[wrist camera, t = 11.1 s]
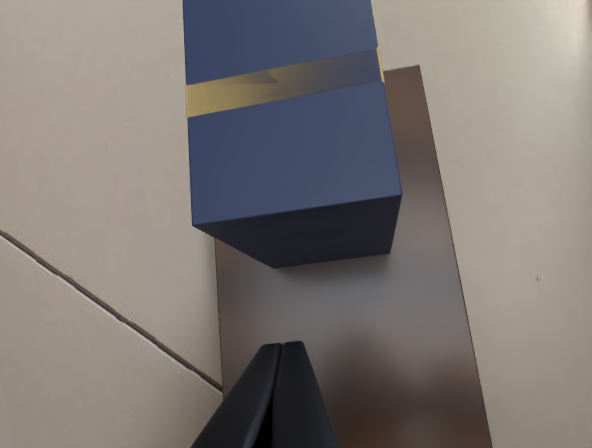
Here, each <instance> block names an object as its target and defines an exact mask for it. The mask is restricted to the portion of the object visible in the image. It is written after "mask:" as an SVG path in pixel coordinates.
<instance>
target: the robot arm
mask: <svg viewBox="0 0 592 448" xmlns="http://www.w3.org/2000/svg"><path fill="white" fill-rule="evenodd" d="M191 448H341V445H340V442H339V439H338V436H337V434H336V431H335V428H334V425H333V423H332V420H331V417H330V414H329V411H328V409H327V406H326V403H325V400H324V398H323V395H322V392H321V389H320V386H319V384H318V381H317V378H316V375H315V373H314V370H313V367H312V364H311V362H310V359H309V356H308V353H307V350H306V348H305V345H304V343H303V341H290V342H285V343H284V344H282V343H270V344H264V345H262V346H261V347H260V348H259V350H258V351H257V353H256V354H255V355H254V357H253V358H252V360H251V361H250V363H249V364H248V365H247V367H246V368H245V370H244V371H243V373H242V374H241V376H240V377H239V378H238V380H237V381H236V383H235V384H234V386H233V387H232V389H231V390H230V391H229V393H228V394H227V396H226V397H225V399H224V400H223V401H222V403H221V404H220V406H219V407H218V409H217V410H216V412H215V413H214V414H213V416H212V417H211V419H210V420H209V422H208V423H207V425H206V426H205V427H204V429H203V430H202V432H201V433H200V435H199V436H198V437H197V439H196V440H195V442H194V443H193V445H192V446H191Z"/></svg>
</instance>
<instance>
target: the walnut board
mask: <svg viewBox="0 0 592 448" xmlns="http://www.w3.org/2000/svg"><path fill="white" fill-rule="evenodd" d="M383 74H384V80H385V91H386V97H387V103H388V109H389V115H390V121H391V127H392V133H393V139H394V145H395V151H396V157H397V163H398V169H399V174H400V180H401V186H402V192H403V195H402V200H401V205H400V210H399V214H398V219H397V224H396V229H395V234H394V238H393V243H392V248H391V253H390V254H382V255H374V256H366V257H358V258H351V259H343V260H335V261H327V262H319V263H311V264H303V265H295V266H287V267H279V268H271V267H269V266H267V265H265V264H263V263H261V262H260V261H258V260H256V259H254V258H252V257H250V256H248V255H246V254H245V253H243V252H241V251H239V250H237V249H235V248H233V247H231V246H229V245H228V244H226V243H224V242H222V241H220V240H218V239H216V238H214V240H215V258H216V276H217V295H218V313H219V332H220V350H221V368H222V387H223V400H224V399H225V397H226V396H227V394H228V393H229V391H230V390H231V389H232V387H233V386H234V384H235V383H236V381H237V380H238V378H239V377H240V376H241V374H242V373H243V371H244V370H245V368H246V367H247V365H248V364H249V363H250V361H251V360H252V358H253V357H254V355H255V354H256V353H257V351H258V350H259V348H260V347H261V346H262V345H264V344H270V343H282V344H284V343H285V342H290V341H303V343H304V345H305V348H306V350H307V353H308V356H309V359H310V362H311V364H312V367H313V370H314V373H315V375H316V378H317V381H318V384H319V386H320V389H321V392H322V395H323V398H324V400H325V403H326V406H327V409H328V411H329V414H330V417H331V420H332V423H333V425H334V428H335V431H336V434H337V436H338V439H339V442H340V445H341V448H493V447H492V442H491V437H490V432H489V426H488V421H487V416H486V411H485V405H484V400H483V395H482V390H481V385H480V379H479V374H478V369H477V364H476V358H475V353H474V348H473V343H472V338H471V332H470V327H469V322H468V317H467V311H466V306H465V301H464V296H463V290H462V285H461V280H460V275H459V270H458V264H457V259H456V254H455V249H454V243H453V238H452V233H451V228H450V223H449V217H448V212H447V207H446V202H445V196H444V191H443V186H442V181H441V175H440V170H439V165H438V160H437V155H436V149H435V144H434V139H433V134H432V128H431V123H430V118H429V113H428V108H427V102H426V97H425V92H424V87H423V81H422V76H421V71H420V66H419V65H413V66H408V67H403V68H398V69H392V70H387V71H383Z"/></svg>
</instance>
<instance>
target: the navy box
mask: <svg viewBox="0 0 592 448" xmlns="http://www.w3.org/2000/svg"><path fill="white" fill-rule="evenodd" d="M183 21H184V45H185V69H186V110H187V120H188V141H189V165H190V188H191V212H192V226H194V227H195V228H197V229H199V230H201V231H203V232H205V233H207V234H209V235H211V236H212V237H214V238H216V239H218V240H220V241H222V242H224V243H226V244H228V245H229V246H231V247H233V248H235V249H237V250H239V251H241V252H243V253H245V254H246V255H248V256H250V257H252V258H254V259H256V260H258V261H260V262H261V263H263V264H265V265H267V266H269V267H271V268H279V267H287V266H295V265H303V264H311V263H319V262H327V261H335V260H343V259H351V258H358V257H366V256H374V255H382V254H390V253H391V248H392V243H393V238H394V234H395V229H396V224H397V219H398V214H399V210H400V205H401V200H402V195H403V192H402V186H401V180H400V174H399V169H398V163H397V157H396V151H395V145H394V139H393V133H392V127H391V121H390V115H389V109H388V103H387V97H386V91H385V80H384V74H383V68H382V62H381V56H380V50H379V48H378V43H377V37H376V31H375V25H374V19H373V13H372V7H371V1H370V0H183Z"/></svg>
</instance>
